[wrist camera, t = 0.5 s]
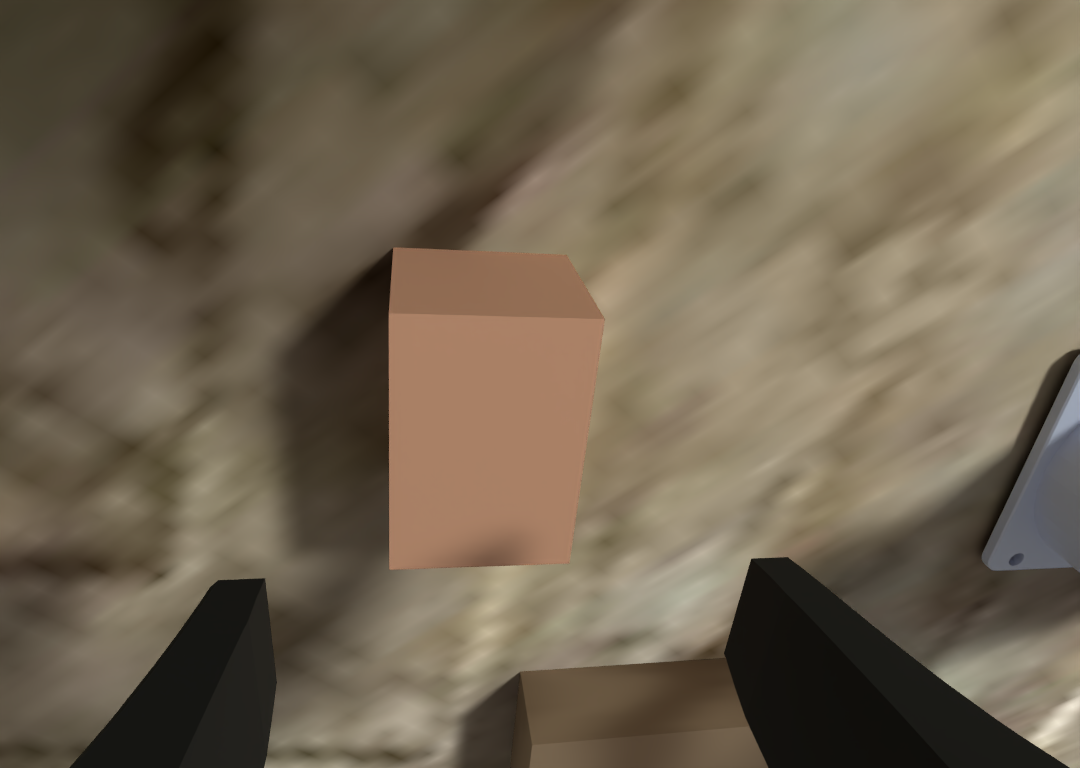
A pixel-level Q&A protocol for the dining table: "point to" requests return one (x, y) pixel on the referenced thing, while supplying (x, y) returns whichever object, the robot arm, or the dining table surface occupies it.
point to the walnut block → (633, 718)
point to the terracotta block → (487, 406)
